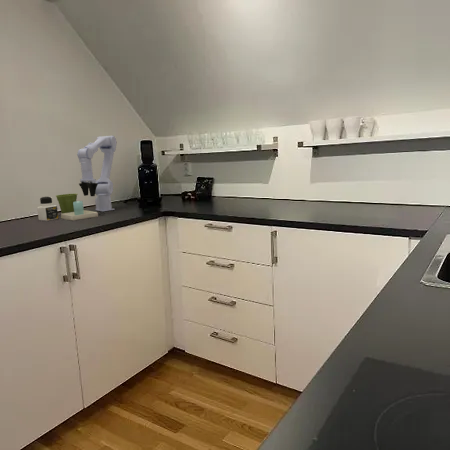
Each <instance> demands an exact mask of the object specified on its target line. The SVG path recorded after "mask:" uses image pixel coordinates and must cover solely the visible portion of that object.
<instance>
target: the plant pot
mask: <svg viewBox="0 0 450 450" xmlns="http://www.w3.org/2000/svg"><path fill="white" fill-rule="evenodd" d="M55 197H56V200H57V203H58V205H59V207H60V209H59V210H60V212H61V214H64V213H70V212H74V205H73V202H75V201H77V199H78V193H65V194H57V195H55Z"/></svg>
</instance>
